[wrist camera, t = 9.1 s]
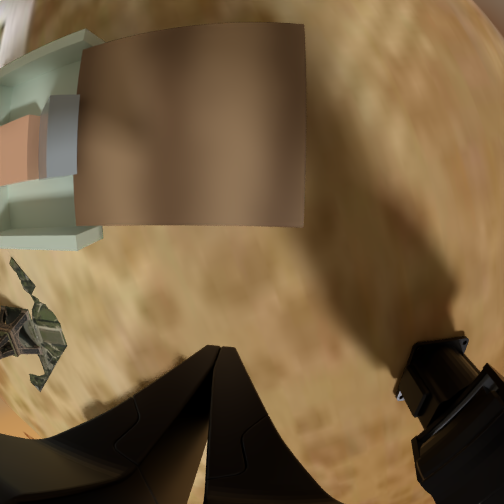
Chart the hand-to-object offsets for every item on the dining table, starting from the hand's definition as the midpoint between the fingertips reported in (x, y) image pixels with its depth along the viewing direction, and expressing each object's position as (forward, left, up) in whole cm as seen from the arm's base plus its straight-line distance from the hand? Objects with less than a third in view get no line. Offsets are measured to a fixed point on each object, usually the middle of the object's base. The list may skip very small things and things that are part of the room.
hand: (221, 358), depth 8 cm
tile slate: (+12, -8, -9) cm, 17 cm away
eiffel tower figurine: (+24, +10, -12) cm, 28 cm away
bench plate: (+4, -8, -12) cm, 15 cm away
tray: (+16, -8, -12) cm, 21 cm away
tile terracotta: (+18, -8, -9) cm, 22 cm away
